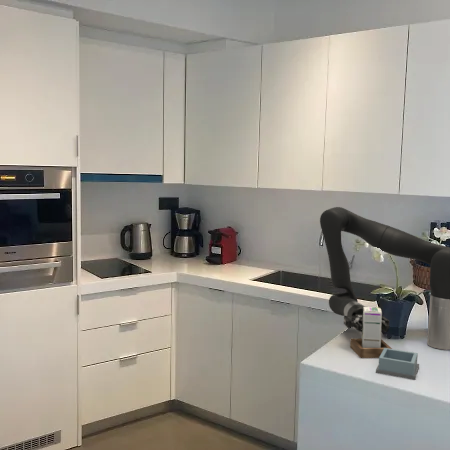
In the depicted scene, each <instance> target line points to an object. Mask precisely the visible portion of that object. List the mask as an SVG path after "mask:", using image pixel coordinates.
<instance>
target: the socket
mask: <svg viewBox="0 0 450 450" xmlns="http://www.w3.org/2000/svg"><path fill="white" fill-rule="evenodd" d="M418 354H419V352H413V351H408V350H400V349H396V348H395V349H394V348H392V349H389V348H384V349H383V351H382V353H381V355H380V357H379V358H378V365H377V366H376V369H375V373H376V374H381V375H386V376H387V375H388V376H392V377H398V378H403V379H409V380H414V381H415V380H416V378H417V375H418V372H419V369H420V363H418V357H419V355H418Z"/></svg>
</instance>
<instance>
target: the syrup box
mask: <svg viewBox="0 0 450 450" xmlns="http://www.w3.org/2000/svg"><path fill="white" fill-rule="evenodd" d="M382 316H383V312H382V309H381V307H377V306H365V307H363V328H362V332H361V333H362V334H361V338H362V348H381V339H382V329H381V321H382Z"/></svg>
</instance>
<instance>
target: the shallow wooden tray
mask: <svg viewBox="0 0 450 450" xmlns="http://www.w3.org/2000/svg"><path fill="white" fill-rule="evenodd" d="M349 347H350V349H351V350H352V351H353V352H354V353H355V355H357V357H359V359H379V357H380V355H381V353H382V351H383V349H384V348H389V349H393V348H392V347H391V346H390V345H389V344H388V343H386V341H384V340H383V339H382V338H381V348H362V337H361V338H350V345H349Z"/></svg>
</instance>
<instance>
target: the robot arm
mask: <svg viewBox="0 0 450 450" xmlns="http://www.w3.org/2000/svg"><path fill="white" fill-rule="evenodd" d="M319 224H320V229H321V232H322V236H323V240H324V244H325V247H326V251H327V255H328V262H329V263H328V264H329V269H330V280H331V285H332V287H333V288H336V289H343V290H345V292H341V293H334V294H332V295H331V296H330V297H329V300H328V306H329V308H330V310H331V311H332V313H335V314H337V315H339V316H343V325H344V326H345V327H346V328H347V329H352V328H353V329H354V330H356V331H358V332H359V333H362V328H363V307H366V306H365V305H363V304H362V303H360V302H359V301H358V298H357V295H356V294H355V290H354V288H353V285H352V281H351V280H352V279H351V275H350V274H351V273H350V265H349V261H348V258H347V256H346V254H345V251H344V247H343V244H342V232H344V233H347V234H352V235H355V236H357V237H359V238H361V239H362V240H364V241H365V242H366V243H367V244H369V245H370V246H371V247H373V248H374V247H377V248H380V249H381V250H382V252H383V251H384V253H387V254H388V255H391V256H395V257H398V258H399V257H400V258H403V259H404V258H405V259H411V260H416V261H420V262H423V263H425V264H428V265H430V267H429V270H430V271H429V288H430V297H429V298H430V299H429V311H428V312H429V313H428V326H427V337H426V340H427V341H426V342H427V343H426V344H427V346H429V347H431V348H433V349H439V350H445V351H446V350H447V351H450V247H449V246H446V245H445V246H444V245H441V244H438V243H433V242H431V241H427V240H425V239H422V238H420V237H417V236H415V235H413V234H411V233H408V232H406V231H403V230H402V229H401V230H400V229H398V228H396V227H392V225H391V226H390V225H386V224H384V223H381V222H378V221H376V220H373V219H368V218H366V217H363V216H361V215H359V214H356V213H354V212H353V211H351V210H349V209H347V208H344V207H341V206H335V207H331V208H328V209H326V210H324V211H323V212H322V213H321V215H320V218H319ZM381 250H380V251H381ZM389 329H390V320H389V319H388V318H386V317H385V316H383V315H382V321H381V331H382V330H383V332H385V333H387V332H388V331H389Z"/></svg>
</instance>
